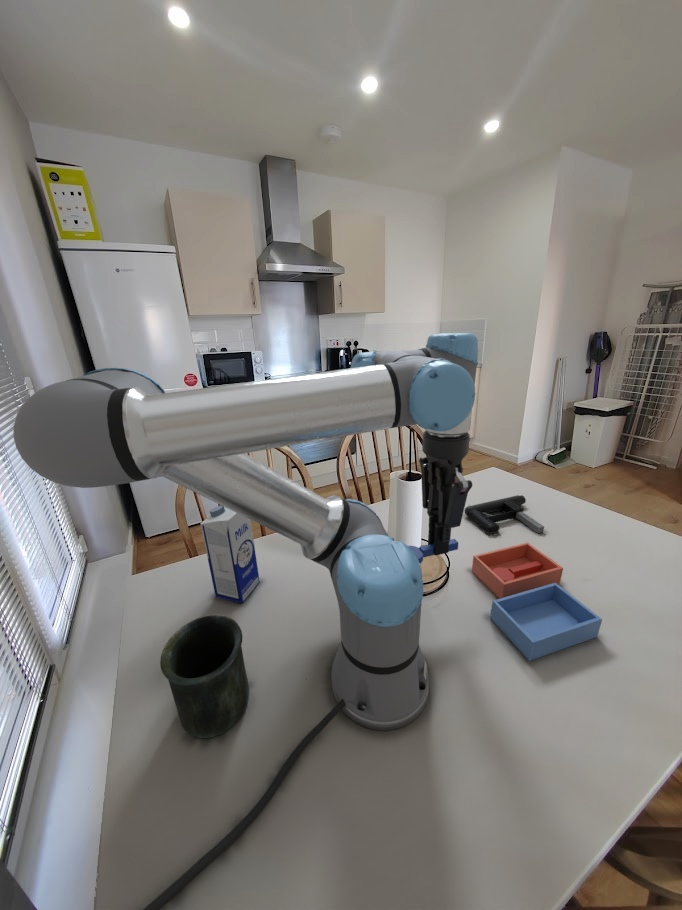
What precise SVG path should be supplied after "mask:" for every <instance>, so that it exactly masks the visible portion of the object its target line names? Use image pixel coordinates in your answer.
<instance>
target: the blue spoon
mask: <svg viewBox="0 0 682 910" xmlns="http://www.w3.org/2000/svg"><path fill="white" fill-rule="evenodd" d="M407 546H408V547H409V548H410V549H411V550H412V551H413V552H414V553H415V555H416V556H417V558H418V560H419V563H420V564H422V563H423V561H424V558H427V557H431V556H435V555H434V543H433V544H429V545H428V544H424V545H421V546H419V547H418V546H416V545H407ZM457 550H459V542H458V540H457V539H455V538H452V539H451V538H450V541H449V550H448V553H449V552H453V551H457Z"/></svg>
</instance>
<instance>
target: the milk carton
mask: <svg viewBox="0 0 682 910" xmlns="http://www.w3.org/2000/svg"><path fill="white" fill-rule="evenodd" d="M209 514H210V515H209V517H207V518H206V519H204V520H203V521H202V522H200V528H201V532H202V538H203V543H204V547H205V551H206V557H207V561H208V567H209V572H210V576H211V581H212V586H213V591H214V595H215V596H214V597H215V598H219V599H221V600H226V601H231V602H235V603H239V604H244V602H245V601H246V600H247V599H248V597H249V596H250V595H251V594H252V593H253V591H254V590H255V589H256V587H258V585H259V584H260V581H261V580H260V575H259V568H258V561H257V555H256V548H255V547H256V546H255V541H254V533H253V528H252V527H253V525H252V520H250V519H248V518H246V517H244V516H242V515H240V514H238V513H236V512H234V511H232V510H230V509H228V508H226V507H224V506H222V505H218V506H216V507H213V508H211V509H210V510H209Z"/></svg>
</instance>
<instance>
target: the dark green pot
mask: <svg viewBox="0 0 682 910" xmlns="http://www.w3.org/2000/svg"><path fill="white" fill-rule="evenodd" d="M242 645H243V632H242V629H241V627H240V625H239V623H238V622H237V621H236V620H235V619H232V618H231V617H229V616H226V615H222V614H209V615H205V616H201V617H198V618H196V619H193V620H191V621H188V622H187V623H186V624H184V625H183V626H181V627H180V628H179V629H177V630H176V631H175V632H174V633H173V634H172V635H171V637H169V639H168V640H167V642H166V643H165V645H164V647H163V649H162V651H161V655H160V660H159V661H160V662H159V664H160V665H159V666H160V670H161V672H162V674H163V676H164V677H165V678H166V679H167V680H168V684H169V687H170V691H171V694H172V698H173V701H174V704H175V708H176V711H177V714H178V718H179V721H180V724H181V726H182V728H183V729H184V732H186V733H187V734H189V735H190V736H192V737H194V738H198V739H210V738H214V737H217V736H219V735H222V734H224V733H225V732H226V731H228V730H229V729H230V728H232V727H233V726H234V725H235V724H236V723H237V721H238V720H239V719H240V718H241V716H242V715H243V713H244V712H245V710H246V708H247V705H248V702H249V699H250V687H249V681H248V676H247V669H246V666H245V665H246V664H245V660H244V654H243V648H242Z"/></svg>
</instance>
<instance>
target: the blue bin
mask: <svg viewBox="0 0 682 910" xmlns="http://www.w3.org/2000/svg"><path fill="white" fill-rule="evenodd" d="M489 619H491V621H492V622H493V623H494V624H495V625H496V626H497V627H498V628H499V629H500V631H501V632H502V633H503V634H504V635H505V636H506V637H507V638H508V639H509V640H510V641H511V643H512V644H513V645H514V646H515V647H516V649H517V650H519V652H520V653H521V654H522V655H523V656H524V657H525V659H527V661H529V662H530V661H534V660H535V659H539V658H542V657H544V656H547V655H550V654H552V653H556V652H558V651H561V650H565V649H567V648H570V647H573V646H576V645H578V644H582V643H584V642H587V641H590V640H593V639H595V638H598V637H599V633H600V628H601V625H602V621H603V618H602V617H600V616H599V615H598V614H596V613H595V612H594V611H592V610H591V609H590V608H589V607H587V606H586V605H585V604H583V603H582V602H581V601H580V600H579V599H578V598H576V597H575V596H574V595H572V594H571V593H570V592H568V591H566V589H564V588H563V586H561V585H560V584H557V583H553V584H549V585H546V586H542V587H539V588H535V589H532V590H528V591H525V592H521V593H518V594H515V595H511V596H508V597H504V598H501V599H499V598H497V599H494V600H492V602H491V609H490V615H489Z"/></svg>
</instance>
